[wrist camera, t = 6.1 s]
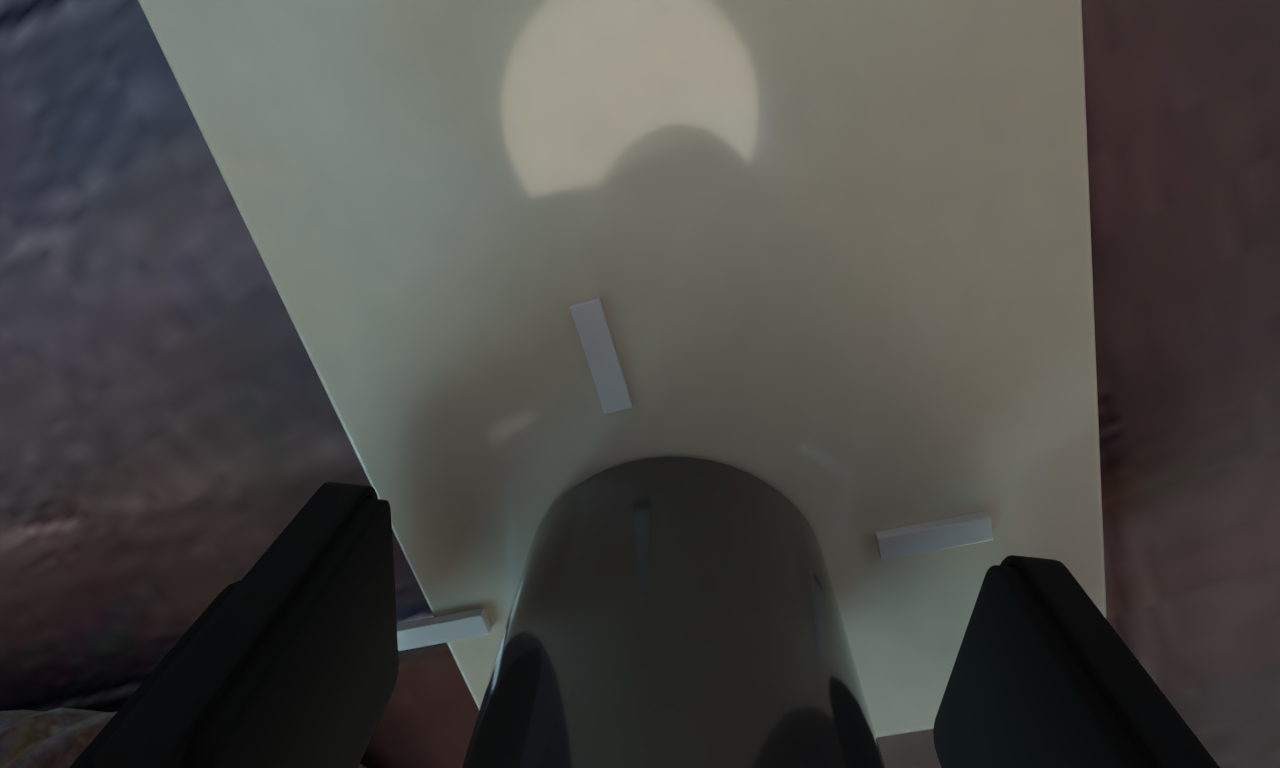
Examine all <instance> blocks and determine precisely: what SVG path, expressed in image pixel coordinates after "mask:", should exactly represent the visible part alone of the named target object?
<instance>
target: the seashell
mask: <svg viewBox="0 0 1280 768" xmlns="http://www.w3.org/2000/svg"><path fill="white" fill-rule="evenodd" d="M117 712H118V711H115V712H102V711H93V710H84V709H71V708H55V709H52V710H48V711H35V710H8V711H0V768H69V767H70V766H71V765H72V764H73V762H74V761H75V760H76V759H77V758H78V757H79V756H80V754H81V753H82V752H83V751H84V750H85V749H86V747H87V746H88V745H89V744H90V743H91V742H92V741H93V739H94V738H95V737H96V736H97V735H98V734H99V732H100V731H101V730H102V729H103V728H104V727H105V726H106V724H107V723H108V722H109V721H110V720H111V719H112V717H113V716H114V715H115V714H116V713H117ZM358 768H367V767H365V766H364V765H362V764H359V766H358Z"/></svg>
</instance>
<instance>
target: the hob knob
mask: <svg viewBox="0 0 1280 768" xmlns="http://www.w3.org/2000/svg"><path fill="white" fill-rule="evenodd" d="M462 768H885V766H884V762H883V759H882V756H881V752H880V749H879V745H878V742H877V738H876V735H875V731H874V728H873V724H872V721H871V718H870V714H869V711H868V707H867V704H866V700H865V697H864V693H863V690H862V687H861V683H860V680H859V676H858V673H857V669H856V666H855V662H854V659H853V656H852V652H851V649H850V645H849V642H848V638H847V635H846V631H845V628H844V625H843V621H842V618H841V614H840V611H839V607H838V604H837V600H836V597H835V594H834V590H833V587H832V583H831V580H830V576H829V573H828V569H827V566H826V563H825V559H824V556H823V552H822V550H821V547H820V544H819V542H818V539H817V537H816V535H815V533H814V531H813V530H812V528H811V526H810V525H809V523H808V521H807V520H806V519H805V517H804V516H803V515H802V514H801V512H800V511H799V510H798V509H797V507H796V506H795V505H794V504H793V503H791V502H790V501H789V500H788V499H787V498H786V497H785V496H784V495H783V494H782V493H780V492H779V491H778V490H776V489H775V488H773V487H772V486H771V485H769V484H768V483H766V482H765V481H763V480H761V479H759V478H757V477H756V476H754V475H752V474H750V473H748V472H746V471H743V470H741V469H738V468H736V467H733V466H731V465H728V464H724V463H720V462H716V461H712V460H709V459H701V458H694V457H683V456H663V457H652V458H644V459H639V460H635V461H630V462H626V463H623V464H620V465H617V466H614V467H611V468H608V469H606V470H604V471H602V472H600V473H598V474H595V475H593V476H591V477H589V478H588V479H586V480H585V481H583V482H582V483H580V484H579V485H577V486H576V487H574V488H573V489H571V490H570V491H569V492H568V493H567V494H566V495H564V496H563V497H562V498H561V499H560V500H559V501H558V502H557V503H556V504H555V505H554V506H553V507H552V509H551V510H550V511H549V512H548V513H547V514H546V516H545V518H544V519H543V521H542V522H541V524H540V526H539V527H538V529H537V531H536V533H535V536H534V538H533V540H532V543H531V545H530V549H529V552H528V555H527V558H526V562H525V565H524V568H523V571H522V575H521V578H520V581H519V584H518V587H517V591H516V594H515V597H514V600H513V604H512V607H511V610H510V613H509V617H508V620H507V623H506V626H505V630H504V633H503V636H502V639H501V643H500V646H499V649H498V652H497V655H496V659H495V662H494V665H493V668H492V672H491V675H490V678H489V681H488V685H487V688H486V691H485V694H484V698H483V701H482V704H481V707H480V711H479V714H478V717H477V720H476V723H475V727H474V730H473V733H472V736H471V740H470V743H469V746H468V749H467V753H466V756H465V759H464V762H463V766H462Z"/></svg>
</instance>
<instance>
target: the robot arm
mask: <svg viewBox="0 0 1280 768" xmlns="http://www.w3.org/2000/svg"><path fill="white" fill-rule="evenodd" d="M397 673H398V641H397V621H396V602H395V582H394V562H393V542H392V522H391V508H390V504H389V502H388V501H387V500H383V499H378V497H377V493H376V491H375V489H374V488H373V487H370V486H361V485H352V484H342V483H333V482H328V483H324V484H323V485H322V486H321V487H320V488H319V489H318V490H317V492H316V493H315V494H314V495H313V496H312V497H311V499H310V500H309V501H308V502H307V503H306V505H305V506H304V507H303V508H302V509H301V510H300V512H299V513H298V514H297V515H296V516H295V518H294V519H293V520H292V521H291V522H290V524H289V525H288V526H287V527H286V528H285V529H284V531H283V532H282V533H281V534H280V535H279V537H278V538H277V539H276V540H275V541H274V542H273V544H272V545H271V546H270V547H269V548H268V550H267V551H266V552H265V553H264V554H263V555H262V557H261V558H260V559H259V560H258V561H257V563H256V564H255V565H254V566H253V567H252V568H251V570H250V571H249V572H248V573H247V574H246V576H245V577H244V578H243V579H242V580H241V581H238V582H235V583H232V584H230V585H229V586H228V587H226V588H225V589H224V590H223V591H222V592H221V593H220V594H219V595H218V596H217V597H216V598H215V600H214V601H213V602H212V603H211V604H210V605H209V606H208V608H207V609H206V610H205V611H204V612H203V613H202V615H201V616H200V617H199V618H198V619H197V620H196V621H195V623H194V624H193V625H192V626H191V627H190V628H189V630H188V631H187V632H186V633H185V634H184V635H183V637H182V638H181V639H180V640H179V641H178V642H177V643H176V645H175V646H174V647H173V648H172V649H171V650H170V652H169V653H168V654H167V655H166V656H165V657H164V658H163V660H162V661H161V662H160V663H159V664H158V665H157V667H156V668H155V669H154V670H153V671H152V672H151V674H150V675H149V676H148V677H147V678H146V679H145V680H144V682H143V683H142V684H141V685H140V686H139V687H138V689H137V690H136V691H135V692H134V693H133V694H132V695H131V697H130V698H129V699H128V700H127V701H126V702H125V704H124V705H123V706H122V707H121V708H120V709H119V710H118V712H117V713H116V714H115V715H114V716H113V717H112V719H111V720H110V721H109V722H108V723H107V724H106V726H105V727H104V728H103V729H102V730H101V731H100V732H99V734H98V735H97V736H96V737H95V738H94V739H93V741H92V742H91V743H90V744H89V745H88V746H87V747H86V749H85V750H84V751H83V752H82V753H81V754H80V756H79V757H78V758H77V759H76V760H75V761H74V762H73V764H72V765H71V766H70V767H69V768H358V766H359V764H360V762H361V760H362V758H363V755H364V753H365V751H366V749H367V747H368V745H369V742H370V740H371V738H372V736H373V734H374V731H375V729H376V727H377V725H378V723H379V720H380V718H381V716H382V714H383V712H384V709H385V707H386V705H387V703H388V701H389V698H390V696H391V694H392V691H393V689H394V686H395V682H396V678H397ZM933 733H934V744H935V749H936V753H937V756H938V758H939V761H940V764H941V766H942V768H1220V767H1219V766H1218V765H1217V763H1216V762H1215V761H1214V760H1213V758H1212V757H1211V756H1210V754H1209V753H1208V752H1207V750H1206V749H1205V748H1204V746H1203V745H1202V744H1201V743H1200V741H1199V740H1198V739H1197V737H1196V736H1195V735H1194V733H1193V732H1192V731H1191V729H1190V728H1189V727H1188V726H1187V724H1186V723H1185V722H1184V720H1183V719H1182V718H1181V716H1180V715H1179V714H1178V712H1177V711H1176V710H1175V709H1174V707H1173V706H1172V705H1171V703H1170V702H1169V701H1168V699H1167V698H1166V697H1165V695H1164V694H1163V693H1162V691H1161V690H1160V689H1159V688H1158V686H1157V685H1156V684H1155V682H1154V681H1153V680H1152V678H1151V677H1150V676H1149V674H1148V673H1147V672H1146V671H1145V669H1144V668H1143V667H1142V665H1141V664H1140V663H1139V661H1138V660H1137V659H1136V657H1135V656H1134V655H1133V654H1132V652H1131V651H1130V650H1129V648H1128V647H1127V646H1126V644H1125V643H1124V642H1123V640H1122V639H1121V638H1120V637H1119V635H1118V634H1117V633H1116V631H1115V630H1114V629H1113V627H1112V626H1111V625H1110V623H1109V622H1108V621H1107V620H1106V618H1105V617H1104V616H1103V614H1102V613H1101V612H1100V610H1099V609H1098V608H1097V606H1096V605H1095V604H1094V603H1093V601H1092V600H1091V599H1090V597H1089V596H1088V595H1087V593H1086V592H1085V591H1084V589H1083V588H1082V587H1081V586H1080V584H1079V583H1078V582H1077V580H1076V579H1075V578H1074V576H1073V575H1072V574H1071V572H1070V571H1069V570H1068V569H1067V567H1066V566H1065V565H1064V564H1063V563H1062V562H1061V561H1057V560H1054V559H1045V558H1035V557H1026V556H1016V555H1010V556H1007V557H1006V558H1005V559H1004V560H1003V561H1002V562H1001V564H1000V565H993V566H991V567H990V568H989V569H988V570H987V572H986V574H985V577H984V580H983V583H982V586H981V589H980V591H979V594H978V597H977V600H976V603H975V606H974V609H973V612H972V615H971V617H970V620H969V623H968V626H967V629H966V632H965V635H964V638H963V640H962V643H961V646H960V649H959V652H958V655H957V658H956V661H955V664H954V666H953V669H952V672H951V675H950V678H949V681H948V684H947V687H946V689H945V692H944V695H943V698H942V701H941V704H940V707H939V710H938V712H937V715H936V718H935V722H934V731H933Z"/></svg>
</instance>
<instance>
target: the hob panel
mask: <svg viewBox="0 0 1280 768" xmlns="http://www.w3.org/2000/svg"><path fill="white" fill-rule="evenodd" d="M138 1H139V3H140V5H141V7H142V9H143V11H144V13H145V16H146V18H147V20H148V22H149V24H150V26H151V28H152V30H153V32H154V34H155V36H156V38H157V41H158V43H159V45H160V47H161V49H162V51H163V53H164V55H165V57H166V59H167V61H168V63H169V66H170V68H171V70H172V72H173V74H174V76H175V78H176V80H177V82H178V84H179V86H180V89H181V91H182V93H183V95H184V97H185V99H186V101H187V103H188V105H189V107H190V109H191V111H192V114H193V116H194V118H195V120H196V122H197V124H198V126H199V128H200V130H201V132H202V134H203V136H204V139H205V141H206V143H207V145H208V147H209V149H210V151H211V153H212V155H213V157H214V159H215V161H216V164H217V166H218V168H219V170H220V172H221V174H222V176H223V178H224V180H225V182H226V184H227V186H228V189H229V191H230V193H231V195H232V197H233V199H234V201H235V203H236V205H237V207H238V209H239V211H240V214H241V216H242V218H243V220H244V222H245V224H246V226H247V228H248V230H249V232H250V234H251V236H252V239H253V241H254V243H255V245H256V247H257V249H258V251H259V253H260V255H261V257H262V259H263V261H264V264H265V266H266V268H267V270H268V272H269V274H270V276H271V278H272V280H273V282H274V284H275V286H276V289H277V291H278V293H279V295H280V297H281V299H282V301H283V303H284V305H285V307H286V309H287V311H288V314H289V316H290V318H291V320H292V322H293V324H294V326H295V328H296V330H297V332H298V334H299V336H300V339H301V341H302V343H303V345H304V347H305V349H306V351H307V353H308V355H309V357H310V359H311V361H312V364H313V366H314V368H315V370H316V372H317V374H318V376H319V378H320V380H321V382H322V384H323V386H324V389H325V391H326V393H327V395H328V397H329V399H330V401H331V403H332V405H333V407H334V409H335V411H336V414H337V416H338V418H339V420H340V422H341V424H342V426H343V428H344V430H345V432H346V434H347V436H348V439H349V441H350V443H351V445H352V447H353V449H354V451H355V453H356V455H357V457H358V459H359V461H360V464H361V466H362V468H363V470H364V472H365V474H366V476H367V478H368V480H369V482H370V484H371V486H372V487H373V488H374V489H375V491H376V493H377V497H378V499H383V500H387V501H388V502H389V504H390V508H391V522H392V530H393V532H394V534H395V536H396V539H397V541H398V543H399V545H400V547H401V549H402V551H403V553H404V555H405V557H406V559H407V561H408V564H409V566H410V568H411V570H412V572H413V574H414V576H415V578H416V580H417V582H418V584H419V586H420V589H421V591H422V593H423V595H424V597H425V599H426V601H427V603H428V605H429V607H430V609H431V611H432V614H433V616H434V617H433V618H428V619H423V620H417V621H412V622H407V623H402V624H397V641H398V650H399V651H403V650H408V649H413V648H419V647H424V646H429V645H435V644H440V643H445V642H446V643H447V645H448V647H449V649H450V651H451V653H452V655H453V657H454V659H455V661H456V664H457V666H458V668H459V670H460V672H461V674H462V676H463V678H464V680H465V682H466V684H467V686H468V689H469V691H470V693H471V695H472V697H473V699H474V701H475V703H476V705H477V707H478V709H479V711H480V707H481V704H482V701H483V698H484V694H485V691H486V688H487V685H488V681H489V678H490V675H491V672H492V668H493V665H494V662H495V659H496V655H497V652H498V649H499V646H500V643H501V639H502V636H503V633H504V630H505V626H506V623H507V620H508V617H509V613H510V610H511V607H512V604H513V600H514V597H515V594H516V591H517V587H518V584H519V581H520V578H521V575H522V571H523V568H524V565H525V562H526V558H527V555H528V552H529V549H530V545H531V543H532V540H533V538H534V536H535V533H536V531H537V529H538V527H539V526H540V524H541V522H542V521H543V519H544V518H545V516H546V514H547V513H548V512H549V511H550V510H551V509H552V507H553V506H554V505H555V504H556V503H557V502H558V501H559V500H560V499H561V498H562V497H563V496H564V495H566V494H567V493H568V492H569V491H570V490H571V489H573V488H574V487H576V486H577V485H579V484H580V483H582V482H583V481H585V480H586V479H588V478H589V477H591V476H593V475H595V474H598V473H600V472H602V471H604V470H606V469H608V468H611V467H614V466H617V465H620V464H623V463H626V462H630V461H635V460H639V459H644V458H652V457H663V456H683V457H694V458H701V459H709V460H712V461H716V462H720V463H724V464H728V465H731V466H733V467H736V468H738V469H741V470H743V471H746V472H748V473H750V474H752V475H754V476H756V477H757V478H759V479H761V480H763V481H765V482H766V483H768V484H769V485H771V486H772V487H773V488H775V489H776V490H778V491H779V492H780V493H782V494H783V495H784V496H785V497H786V498H787V499H788V500H789V501H790V502H791V503H793V504H794V505H795V506H796V507H797V509H798V510H799V511H800V512H801V514H802V515H803V516H804V517H805V519H806V520H807V521H808V523H809V525H810V526H811V528H812V530H813V531H814V533H815V535H816V537H817V539H818V542H819V544H820V547H821V550H822V552H823V556H824V559H825V563H826V566H827V569H828V573H829V576H830V580H831V583H832V587H833V590H834V594H835V597H836V600H837V604H838V607H839V611H840V614H841V618H842V621H843V625H844V628H845V631H846V635H847V638H848V642H849V645H850V649H851V652H852V656H853V659H854V662H855V666H856V669H857V673H858V676H859V680H860V683H861V687H862V690H863V693H864V697H865V700H866V704H867V707H868V711H869V714H870V718H871V721H872V724H873V728H874V731H875V735H876V738H877V737H883V736H890V735H897V734H903V733H910V732H916V731H923V730H930V729H934V722H935V718H936V715H937V712H938V710H939V707H940V704H941V701H942V698H943V695H944V692H945V689H946V687H947V684H948V681H949V678H950V675H951V672H952V669H953V666H954V664H955V661H956V658H957V655H958V652H959V649H960V646H961V643H962V640H963V638H964V635H965V632H966V629H967V626H968V623H969V620H970V617H971V615H972V612H973V609H974V606H975V603H976V600H977V597H978V594H979V591H980V589H981V586H982V583H983V580H984V577H985V574H986V572H987V570H988V569H989V568H990V567H991V566H993V565H1000V564H1001V562H1002V561H1003V560H1004V559H1005V558H1006V557H1007V556H1010V555H1016V556H1026V557H1035V558H1045V559H1054V560H1057V561H1061V562H1062V563H1063V564H1064V565H1065V566H1066V567H1067V569H1068V570H1069V571H1070V572H1071V574H1072V575H1073V576H1074V578H1075V579H1076V580H1077V582H1078V583H1079V584H1080V586H1081V587H1082V588H1083V589H1084V591H1085V592H1086V593H1087V595H1088V596H1089V597H1090V599H1091V600H1092V601H1093V603H1094V604H1095V605H1096V606H1097V608H1098V609H1099V610H1100V612H1101V613H1102V614H1103V616H1104V617H1105V618H1106V595H1105V571H1104V546H1103V521H1102V497H1101V472H1100V448H1099V423H1098V399H1097V374H1096V350H1095V325H1094V300H1093V276H1092V251H1091V227H1090V202H1089V178H1088V153H1087V128H1086V104H1085V79H1084V55H1083V30H1082V6H1081V0H138Z"/></svg>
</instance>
